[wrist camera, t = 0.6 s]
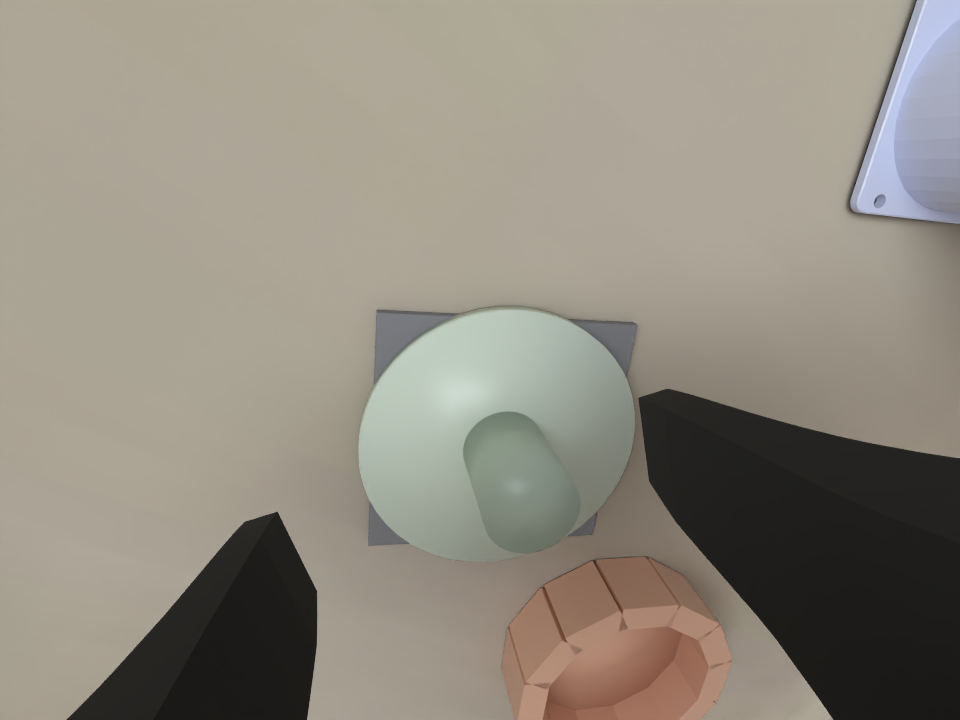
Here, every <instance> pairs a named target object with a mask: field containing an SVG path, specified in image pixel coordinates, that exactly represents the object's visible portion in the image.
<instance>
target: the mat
mask: <svg viewBox="0 0 960 720" xmlns="http://www.w3.org/2000/svg"><path fill="white" fill-rule="evenodd" d="M456 315H458V314H453V313H432V312H412V311H391V310H377V316H376V344H375V372H374V384H375V383H376V381H377V379H378V377H379V376H380V374H381V372H382V371H383V370H384V369H385V367H386V366H387V365H388V364H389V362H390V361H391V360H392V358H393V357H394V356H395V355H396V354H397V353H398V352H399V351H400V350H402V349H403V348H404V347H405V346H406V345H407V344H408V343H409V342H410V341H412V340H413V339H414V338H416V337H417V336H418V335H420V334H421V333H422V332H424V331H426V330H428V329H429V328H431V327H433V326H435V325H436V324H438V323H440V322H442V321H444V320H447V319H449V318H452V317H454V316H456ZM568 320H569V321H571V322H573V323H574V324H576V325H578V326H579V327H581V328H583V329H584V330H585V331H586V332H588V333H589V334H590V335H591V336H593V337H594V338H595V339H596V340H597V341H599V342H600V343H601V344H602V345H604V347H605V348H606V349H607V350H608V351H609V352H610V353H611V355H612V356H613V357H614V358H615V360H616V361H617V363H618V364H619V366H620V367H621V369H622V370H623V372H624V375H625V377H626V376H627V372H628V367H629V363H630V358H631V353H632V349H633V344H634V339H635V335H636V330H637V325H636V324H635V323H633V322H616V321H595V320H575V319H568ZM596 516H597V512H596V513H595V514H594V515H593V516H592V517H591V518H590V519H588V520H587V521H586V522H585V523H584V524H583V525H582V526H580V527H579V528H578V529H576V530H575V531H574V532H572V533H571V534H569V535H568V536H580V535H592V534H593V529H594V525H595V520H596ZM391 544H410V543H408V542H407V541H406V540H404V539H403V538H401V537H400V536H398V535H397V534H396V533H395V532H394V531H393V530H392V529H391V528H390V527H389V526H387V525H386V523H385V522H384V521H383V520H382V518H381V517H380V516H379V515H378V513H377V512H376V511H375V509H374V507H373V505H372V504H371V502H370V512H369V541H368V546H371V545H391Z"/></svg>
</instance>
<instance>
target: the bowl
mask: <svg viewBox="0 0 960 720" xmlns="http://www.w3.org/2000/svg"><path fill="white" fill-rule="evenodd" d="M544 587H545V589H544V588H540V589H539V590H538V591H537V592H536V594H535V595H534V596H533V597H532V598H531V600H530V601H529V602H528V603H527V604H526V606H525V607H524V608H523V609H522V610H521V611H520V613H519V614H518V615H517V616H516V617H515V619H514V620H513V621H512V622H511V623H510V625H509V627H510V628H507V635H506V641H505V647H504V654H503V660H502V666H501V668H502V672H503V676H504V680H505V684H506V688H507V692H508V696H509V700H510V704H511V707H512V711H513V715H514V719H515V720H700V719H701V718H702V717H703V716H704V715H705V714H706V713H707V712H708V711H709V710H710V709H711V708H712V707H713V706H714V705H715V704H716V702H715V701H718V700H719V697H720V694H721V692H722V689H723V686H724V683H725V681H726V678H727V675H728V672H729V670H730V667H731V664H732V661H731V660H732V657H731V654H730V651H729V648H728V645H727V642H726V639H725V636H724V633H723V630H722V627H721V625H720V624H719V623H718V621H717V620H716V619H715V617H714V616H713V615H712V613H711V612H710V611H709V609H708V608H707V607H706V605H705V604H704V603H703V601H702V600H701V599H700V597H699V596H698V595H697V593H696V592H695V591H694V589H693V588H692V587H691V585H690V584H689V583H688V581H687V580H686V579H685V577H684V576H683V575H681V574H679V573H677V572H675V571H674V570H672V569H670V568H668V567H666V566H664V565H662V564H660V563H658V562H656V561H655V560H653V559H651V558H649V557H648V558H646V557H630V558H613V559H596V562H595V564H594V562H593V561H590V562H588V563H586V564H584V565H582V566H580V567H579V568H577V569H575V570H573V571H571V572H569V573H567V574H565V575H563V576H561V577H559V578H557V579H555V580H553V581H551V582H549V583H547V584H545V585H544Z"/></svg>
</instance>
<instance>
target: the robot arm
mask: <svg viewBox="0 0 960 720" xmlns="http://www.w3.org/2000/svg"><path fill="white" fill-rule="evenodd" d="M876 197H877V200H876V203H875V204H874V200H875V198H876ZM850 205H851V209H852V210H853V211H854V212H857V213H865V214H874V215H883V216H892V217H901V218H910V219H919V220H928V221H937V222H946V223H955V224H960V0H917V2H916V5H915V8H914V11H913V14H912V17H911V20H910V23H909V26H908V29H907V32H906V35H905V38H904V41H903V44H902V47H901V50H900V53H899V56H898V59H897V62H896V65H895V68H894V71H893V74H892V77H891V80H890V83H889V86H888V89H887V92H886V95H885V98H884V101H883V104H882V107H881V110H880V113H879V116H878V119H877V122H876V125H875V128H874V131H873V134H872V137H871V140H870V143H869V146H868V149H867V152H866V155H865V158H864V161H863V164H862V167H861V170H860V173H859V176H858V179H857V182H856V185H855V188H854V191H853V194H852V197H851V201H850ZM639 405H640V413H641V421H642V429H643V437H644V444H645V452H646V460H647V468H648V476H649V482H650V483H651V485H652V486H653V488H654V489H655V491H656V493H657V494H658V496H659V497H660V499H661V500H662V502H663V503H664V505H665V506H666V508H667V509H668V511H669V512H670V514H671V515H672V517H673V518H674V520H675V521H676V522H677V524H678V525H679V526H680V527H681V528H682V530H683V531H684V532H685V533H686V534H687V536H688V537H689V538H690V539H691V540H692V541H693V543H694V544H695V545H696V546H697V547H698V548H699V550H700V551H701V552H702V553H703V554H704V555H705V557H706V558H707V559H708V560H709V561H710V562H711V563H712V565H713V566H714V567H715V568H716V569H717V570H718V571H719V573H720V574H721V575H722V576H723V577H724V578H725V579H726V581H727V582H728V583H729V584H730V585H731V586H732V588H733V589H734V590H735V591H736V592H737V593H738V594H739V596H740V597H741V598H742V599H743V600H744V601H745V602H746V604H747V605H748V606H749V607H750V608H751V609H752V610H753V612H754V613H755V614H756V615H757V616H758V617H759V619H760V620H761V621H762V622H763V624H764V625H765V626H766V627H767V629H768V630H769V631H770V632H771V634H772V635H773V636H774V637H775V638H776V640H777V641H778V642H779V644H780V645H781V647H782V648H783V649H784V651H785V652H786V653H787V655H788V656H789V658H790V659H791V660H792V662H793V663H794V665H795V666H796V667H797V669H798V670H799V671H800V673H801V674H802V676H803V677H804V678H805V680H806V681H807V683H808V684H809V685H810V687H811V688H812V689H813V691H814V692H815V694H816V695H817V696H818V698H819V699H820V701H821V702H822V704H823V705H824V707H825V708H826V709H827V711H828V712H829V714H830V715H831V717H832V718H833V720H960V458H953V457H946V456H940V455H933V454H927V453H920V452H915V451H909V450H904V449H899V448H893V447H888V446H882V445H877V444H872V443H866V442H862V441H857V440H852V439H848V438H843V437H839V436H835V435H831V434H827V433H823V432H819V431H815V430H811V429H807V428H803V427H799V426H795V425H791V424H788V423H784V422H780V421H777V420H773V419H770V418H766V417H763V416H759V415H756V414H753V413H749V412H746V411H743V410H739V409H736V408H733V407H730V406H726V405H723V404H720V403H717V402H713V401H710V400H707V399H704V398H700V397H697V396H694V395H690V394H687V393H683V392H679V391H675V390H670V389H665V390H662V391H659V392H656V393H652V394H649V395H646V396H643V397H640V398H639ZM316 646H317V590H316V588H315V586H314V584H313V582H312V580H311V578H310V576H309V574H308V572H307V570H306V568H305V566H304V564H303V562H302V560H301V558H300V556H299V554H298V552H297V550H296V548H295V546H294V544H293V542H292V540H291V538H290V536H289V534H288V532H287V530H286V528H285V526H284V524H283V522H282V520H281V518H280V516H279V514H278V512H275V513H272V514H269V515H265V516H262V517H259V518H256V519H253V520H250V521H246V522H244V523H243V524H242V525H241V526H240V527H239V528H238V529H237V531H236V532H235V533H234V534H233V535H232V536H231V537H230V538H229V540H228V541H227V542H226V543H225V544H224V545H223V546H222V548H221V549H220V550H219V551H218V552H217V554H216V555H215V556H214V557H213V558H212V559H211V561H210V562H209V563H208V564H207V565H206V567H205V568H204V569H203V570H202V571H201V573H200V574H199V575H198V576H197V577H196V579H195V580H194V581H193V582H192V583H191V585H190V586H189V587H188V588H187V589H186V590H185V592H184V593H183V594H182V595H181V596H180V598H179V599H178V600H177V601H176V602H175V603H174V605H173V606H172V607H171V608H170V609H169V611H168V612H167V613H166V614H165V615H164V616H163V617H162V619H161V620H160V621H159V622H158V623H157V624H156V625H155V626H154V627H153V629H152V630H151V631H150V632H149V633H148V634H147V635H146V636H145V637H144V639H143V640H142V641H141V642H140V643H139V644H138V645H137V646H136V647H135V649H134V650H133V651H132V652H131V653H130V654H129V655H128V656H127V657H126V658H125V660H124V661H123V662H122V663H121V664H120V665H119V666H118V667H117V668H116V670H115V671H114V672H113V673H112V674H111V675H110V676H109V677H108V678H107V679H106V680H105V681H104V682H103V683H102V684H101V686H100V687H99V688H98V689H97V690H96V691H95V692H94V693H93V694H92V695H91V696H90V697H89V698H88V699H87V700H86V701H85V702H84V703H83V704H82V705H81V706H80V707H79V708H78V709H77V710H76V711H75V712H74V713H73V714H72V715H71V716H70V717H69V718H68V719H67V720H307V715H308V708H309V701H310V694H311V686H312V678H313V671H314V663H315V655H316Z"/></svg>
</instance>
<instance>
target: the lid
mask: <svg viewBox="0 0 960 720" xmlns="http://www.w3.org/2000/svg"><path fill="white" fill-rule="evenodd" d="M634 434H635V410H634V401H633V397H632V394H631V390H630V386H629V384H628V381H627V379H626V377H625V375H624V372H623V370H622V369H621V367H620V366H619V364H618V363H617V361H616V360H615V358H614V357H613V356H612V355H611V353H610V352H609V351H608V350H607V349H606V348H605V347H604V345H602V344H601V343H600V342H599V341H597V340H596V339H595V338H594V337H593V336H591V335H590V334H589V333H588V332H586V331H585V330H584V329H583V328H581V327H579V326H578V325H576V324H574V323H573V322H571V321H569V320H568V319H565V318H563V317H561V316H558V315H556V314H553V313H551V312H547V311H543V310H539V309H535V308H528V307H520V306H495V307H488V308H481V309H476V310H472V311H469V312H465V313H461V314H458V315H456V316H454V317H452V318H449V319H447V320H444V321H442V322H440V323H438V324H436V325H435V326H433V327H431V328H429V329H428V330H426V331H424V332H422V333H421V334H420V335H418V336H417V337H416V338H414V339H413V340H412V341H410V342H409V343H408V344H407V345H406V346H405V347H404V348H403V349H402V350H400V351H399V352H398V353H397V354H396V355H395V356H394V357H393V358H392V360H391V361H390V362H389V364H388V365H387V366H386V367H385V369H384V370H383V371H382V372H381V374H380V376H379V377H378V379H377V381H376V383H375V384H374V386H373V387H372V389H371V392H370V394H369V397H368V399H367V401H366V404H365V407H364V411H363V415H362V419H361V423H360V433H359V447H358V453H359V468H360V473H361V478H362V482H363V485H364V488H365V490H366V493H367V496H368V498H369V500H370V502H371V504H372V505H373V507H374V509H375V511H376V512H377V513H378V515H379V516H380V517H381V518H382V520H383V521H384V522H385V523H386V525H387V526H389V527H390V528H391V529H392V530H393V531H394V532H395V533H396V534H397V535H398V536H400V537H401V538H403V539H404V540H406V541H407V542H408V543H410V544H411V545H413V546H415V547H417V548H419V549H421V550H423V551H425V552H428V553H431V554H434V555H436V556H439V557H443V558H448V559H452V560H457V561H467V562H493V561H502V560H508V559H512V558H517V557H521V556H524V555H527V554H531V553H534V552H537V551H541V550H544V549H546V548H549V547H551V546H553V545H554V544H556V543H557V542H559V541H560V540H562V539H563V538H565V537H566V536H568V535H569V534H571V533H572V532H574V531H575V530H576V529H578V528H579V527H580V526H582V525H583V524H584V523H585V522H586V521H587V520H588V519H590V518H591V517H592V516H593V515H594V514H595V513H596V512H597V511H598V510H599V508H600V507H601V506H602V505H603V504H604V503H605V501H606V500H607V499H608V497H609V496H610V495H611V493H612V492H613V491H614V489H615V487H616V486H617V484H618V482H619V480H620V479H621V477H622V475H623V472H624V470H625V468H626V466H627V463H628V460H629V457H630V454H631V450H632V446H633V440H634Z"/></svg>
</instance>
